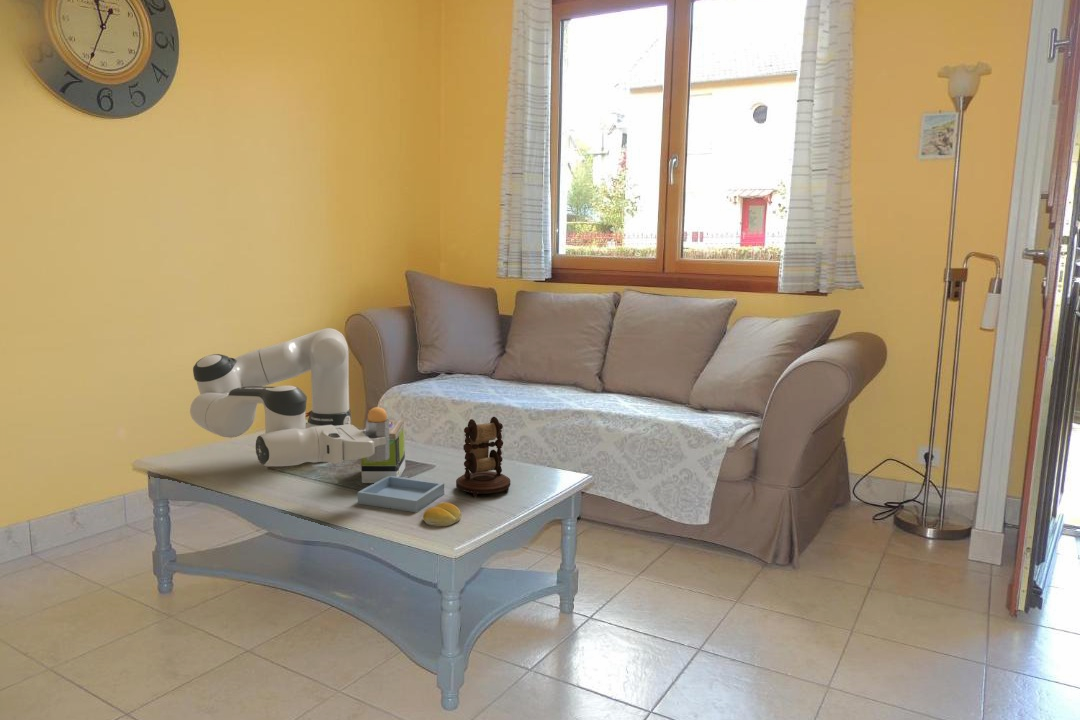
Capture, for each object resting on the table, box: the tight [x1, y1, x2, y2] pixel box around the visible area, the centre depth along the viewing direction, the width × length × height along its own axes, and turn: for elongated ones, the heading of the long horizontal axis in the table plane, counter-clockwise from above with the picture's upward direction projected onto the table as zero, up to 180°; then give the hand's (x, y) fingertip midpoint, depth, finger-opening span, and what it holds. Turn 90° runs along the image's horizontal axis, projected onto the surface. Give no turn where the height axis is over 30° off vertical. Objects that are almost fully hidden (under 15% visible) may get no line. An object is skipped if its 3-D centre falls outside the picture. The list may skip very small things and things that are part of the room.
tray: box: [357, 476, 445, 513], centre depth 200 cm, size 17×15×3 cm
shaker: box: [365, 418, 390, 462], centre depth 196 cm, size 5×5×10 cm
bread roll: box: [422, 502, 462, 527], centre depth 185 cm, size 8×9×4 cm
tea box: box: [360, 420, 406, 484], centre depth 218 cm, size 15×10×15 cm, turn 1°
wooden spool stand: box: [455, 416, 511, 498], centre depth 207 cm, size 15×15×20 cm
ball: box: [367, 406, 388, 423], centre depth 195 cm, size 5×5×5 cm
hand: (381, 436), depth 196 cm, fingers closed on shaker, 5 cm apart
